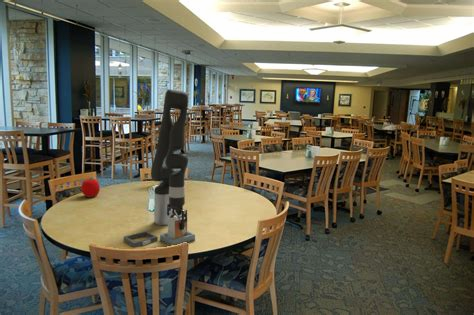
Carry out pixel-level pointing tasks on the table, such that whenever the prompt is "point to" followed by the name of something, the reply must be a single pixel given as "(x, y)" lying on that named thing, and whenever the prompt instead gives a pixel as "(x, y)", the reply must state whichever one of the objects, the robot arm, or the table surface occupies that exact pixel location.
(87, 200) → the table surface
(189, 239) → the tray
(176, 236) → the small box
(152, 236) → the clip holder
